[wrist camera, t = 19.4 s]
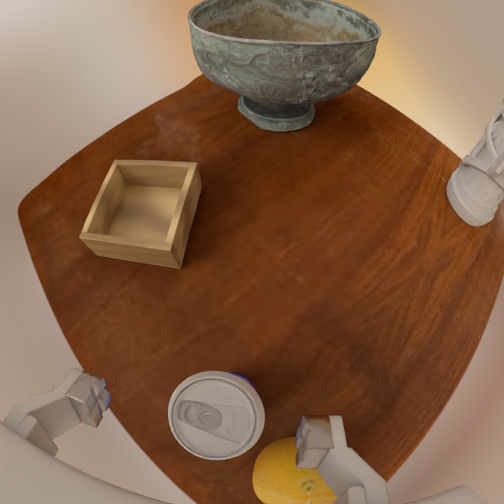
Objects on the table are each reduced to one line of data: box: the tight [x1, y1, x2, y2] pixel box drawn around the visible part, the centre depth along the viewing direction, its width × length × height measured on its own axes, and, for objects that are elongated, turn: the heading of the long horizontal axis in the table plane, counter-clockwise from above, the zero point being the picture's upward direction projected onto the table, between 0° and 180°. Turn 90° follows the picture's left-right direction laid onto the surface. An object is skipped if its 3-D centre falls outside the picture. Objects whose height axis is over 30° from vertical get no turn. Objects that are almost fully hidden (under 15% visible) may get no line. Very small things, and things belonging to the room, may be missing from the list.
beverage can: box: [168, 371, 265, 460], centre depth 19 cm, size 5×5×15 cm
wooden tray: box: [79, 160, 202, 269], centre depth 32 cm, size 12×12×5 cm
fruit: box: [253, 436, 338, 504], centre depth 19 cm, size 9×8×8 cm
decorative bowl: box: [188, 0, 381, 131], centre depth 35 cm, size 26×26×20 cm
